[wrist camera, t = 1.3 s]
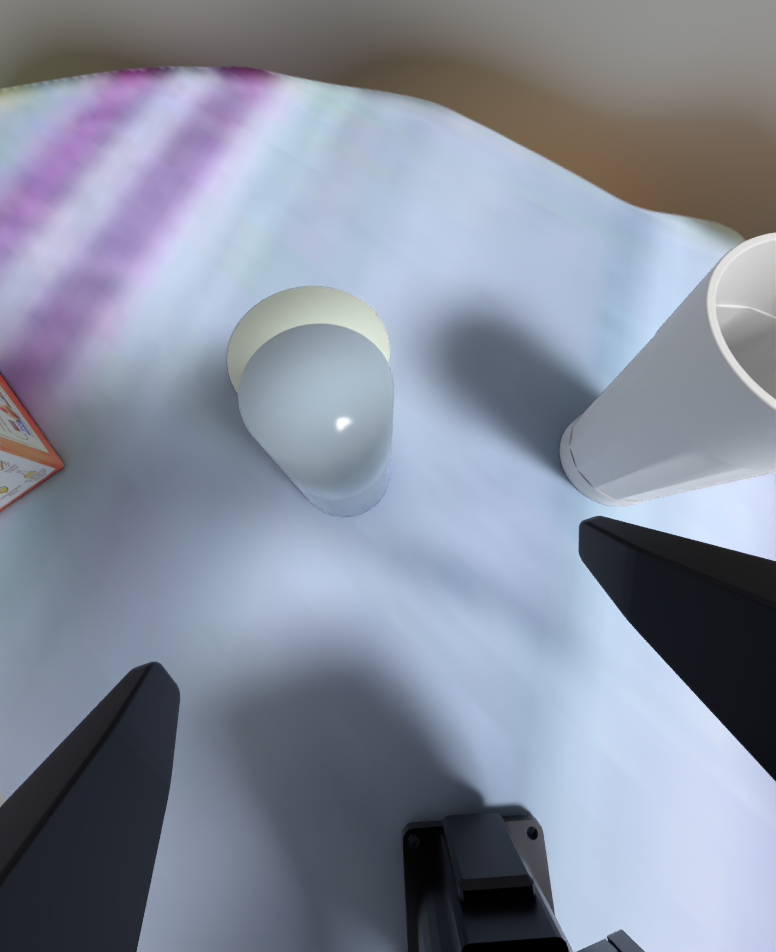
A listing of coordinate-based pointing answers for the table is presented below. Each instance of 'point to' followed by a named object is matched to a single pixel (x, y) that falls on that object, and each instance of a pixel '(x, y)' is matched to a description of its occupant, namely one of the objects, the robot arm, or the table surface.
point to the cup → (689, 394)
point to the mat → (301, 321)
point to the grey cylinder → (323, 414)
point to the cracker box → (21, 450)
